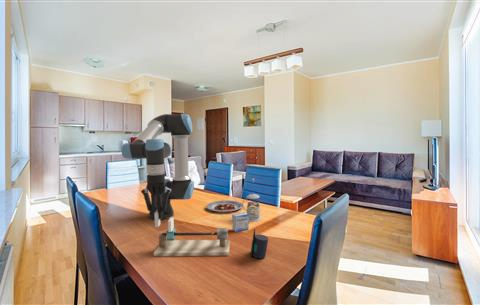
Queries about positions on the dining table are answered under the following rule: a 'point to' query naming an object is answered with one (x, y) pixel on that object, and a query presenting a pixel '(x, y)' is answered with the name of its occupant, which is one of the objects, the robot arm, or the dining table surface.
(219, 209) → the ceramic plate
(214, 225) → the dining table surface
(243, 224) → the medicine box
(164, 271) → the dining table surface
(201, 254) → the cord rig
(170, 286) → the dining table surface
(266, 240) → the speaker
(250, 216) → the french press
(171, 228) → the white slab teal box
